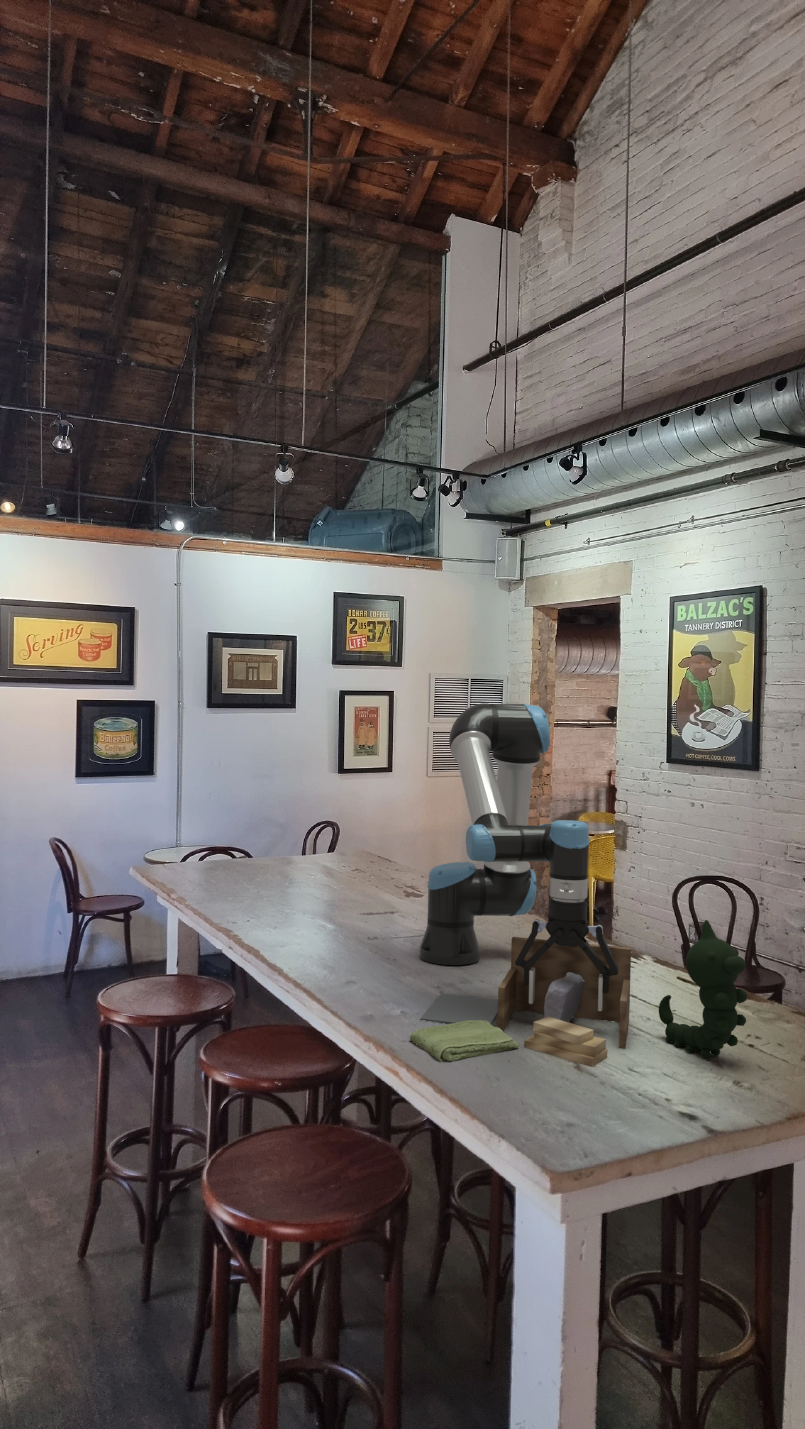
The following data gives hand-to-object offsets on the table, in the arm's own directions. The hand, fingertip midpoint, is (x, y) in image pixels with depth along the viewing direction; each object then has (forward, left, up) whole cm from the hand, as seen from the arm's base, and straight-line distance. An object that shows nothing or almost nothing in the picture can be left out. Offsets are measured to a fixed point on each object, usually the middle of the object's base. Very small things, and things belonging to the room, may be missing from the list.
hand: (565, 1005), depth 186 cm
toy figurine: (+25, -4, -5) cm, 26 cm away
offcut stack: (+1, -13, -5) cm, 14 cm away
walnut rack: (0, -1, -5) cm, 5 cm away
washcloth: (-17, -16, -5) cm, 24 cm away
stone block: (0, 0, -5) cm, 5 cm away
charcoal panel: (-21, +2, -5) cm, 22 cm away
